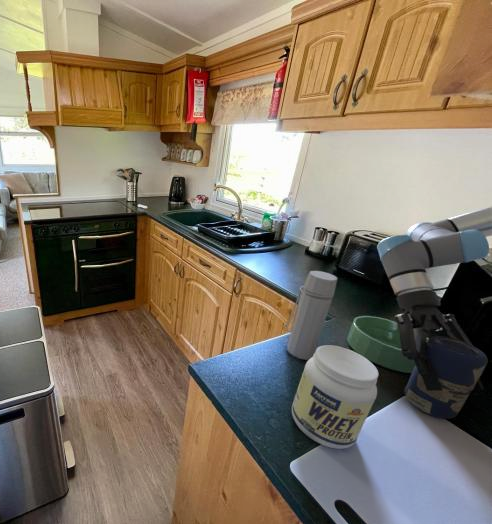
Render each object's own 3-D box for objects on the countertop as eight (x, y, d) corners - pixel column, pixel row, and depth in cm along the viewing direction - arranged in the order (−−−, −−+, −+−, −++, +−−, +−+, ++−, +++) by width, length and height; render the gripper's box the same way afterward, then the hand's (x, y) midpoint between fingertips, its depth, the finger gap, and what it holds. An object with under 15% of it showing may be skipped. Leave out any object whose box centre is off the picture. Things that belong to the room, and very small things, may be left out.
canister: (442, 427, 63) (481, 361, 57) (393, 395, 71) (422, 334, 65) (463, 414, 67) (501, 350, 61) (414, 386, 75) (443, 326, 69)
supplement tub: (291, 436, 59) (314, 370, 53) (288, 394, 69) (307, 335, 63) (362, 463, 54) (395, 394, 48) (348, 414, 65) (374, 352, 59)
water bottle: (318, 356, 84) (345, 278, 76) (304, 365, 80) (330, 283, 71) (289, 339, 91) (310, 266, 83) (274, 346, 87) (295, 270, 78)
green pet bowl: (423, 352, 89) (433, 333, 87) (427, 385, 76) (439, 364, 73) (350, 327, 101) (357, 309, 98) (342, 351, 87) (349, 332, 85)
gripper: (438, 298, 77) (479, 389, 68) (362, 297, 75) (394, 391, 66) (469, 289, 70) (520, 389, 61) (387, 287, 68) (427, 390, 59)
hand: (455, 390), depth 64 cm, fingers closed on canister, 10 cm apart
